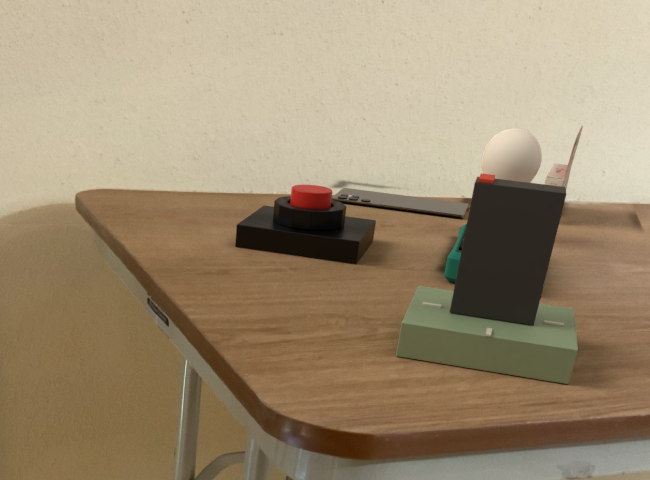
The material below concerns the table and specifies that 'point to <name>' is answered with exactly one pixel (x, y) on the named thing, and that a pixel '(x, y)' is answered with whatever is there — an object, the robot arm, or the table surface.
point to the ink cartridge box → (562, 169)
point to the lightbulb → (512, 156)
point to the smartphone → (401, 202)
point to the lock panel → (489, 339)
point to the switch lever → (507, 249)
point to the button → (311, 196)
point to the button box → (306, 232)
